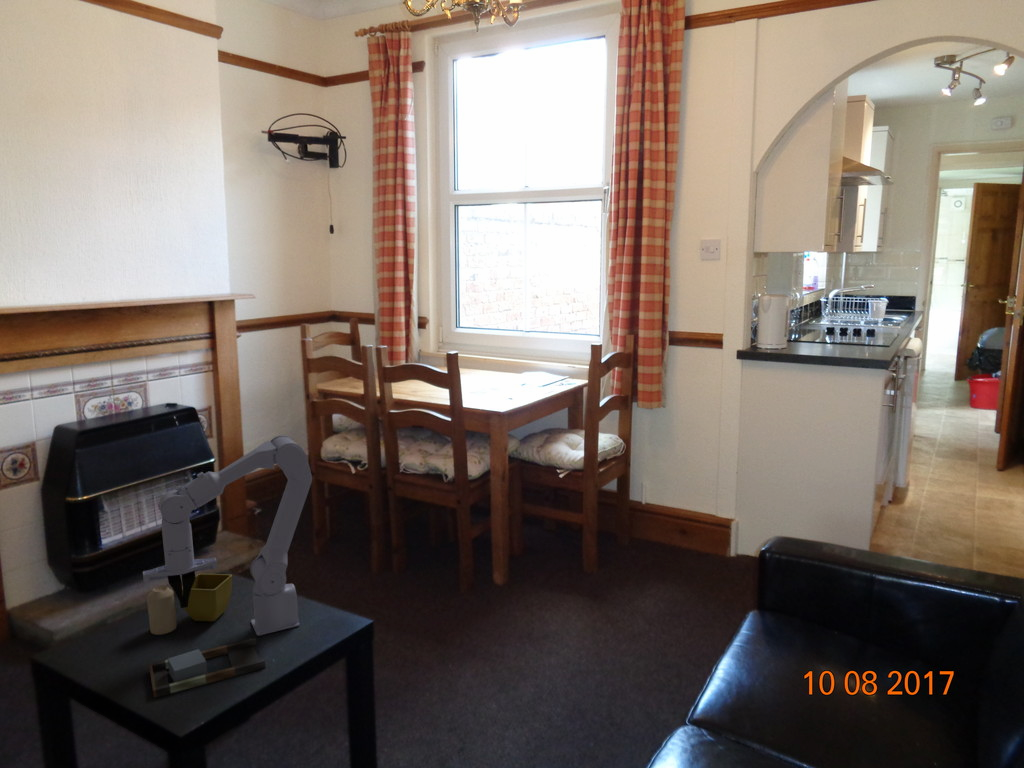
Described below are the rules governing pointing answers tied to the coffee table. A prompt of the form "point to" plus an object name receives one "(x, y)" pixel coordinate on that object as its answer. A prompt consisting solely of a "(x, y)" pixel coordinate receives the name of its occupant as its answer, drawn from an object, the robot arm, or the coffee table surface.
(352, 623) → the coffee table surface
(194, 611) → the flower pot
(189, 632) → the coffee table surface
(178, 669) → the block
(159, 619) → the candle
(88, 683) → the coffee table surface
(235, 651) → the trap lane
